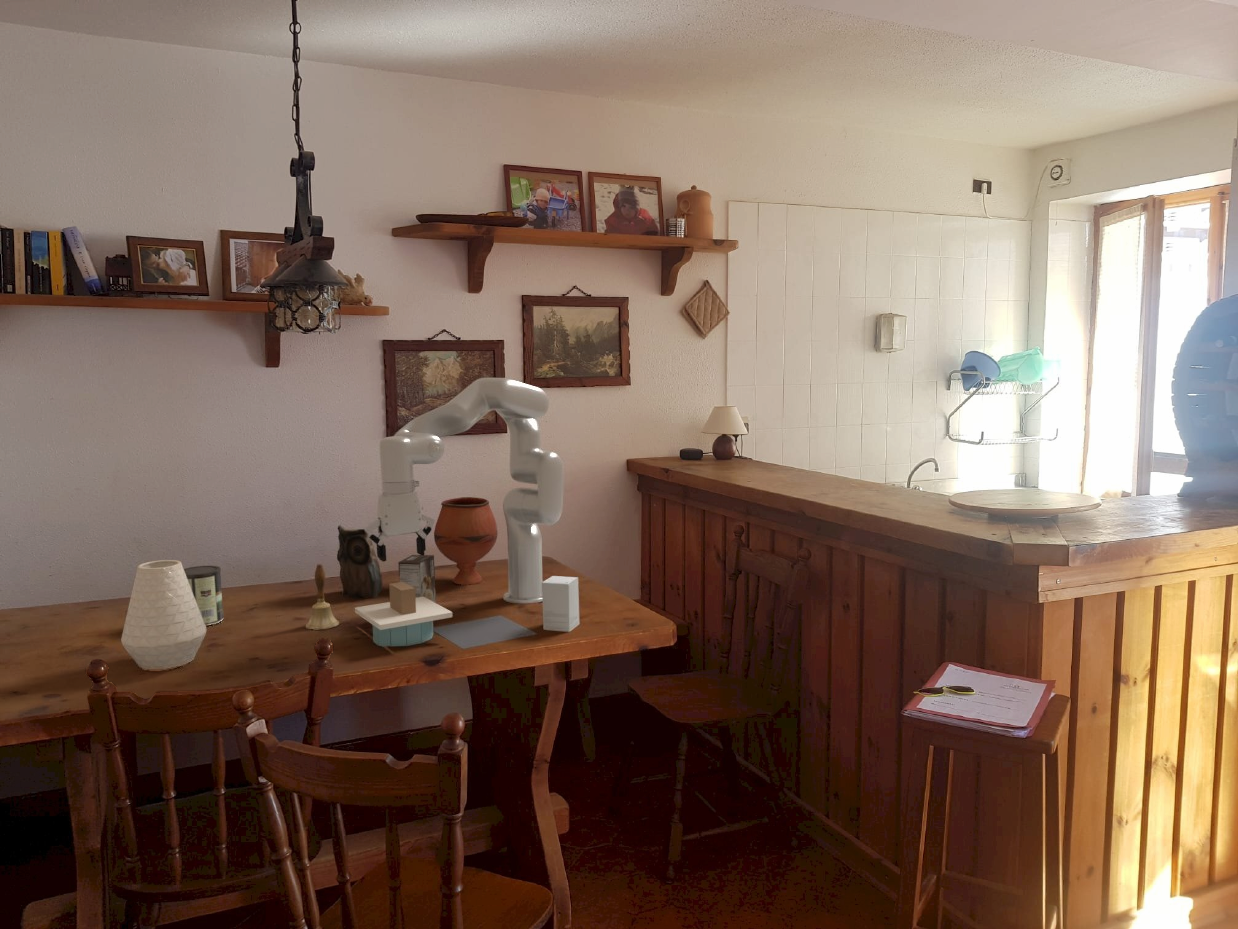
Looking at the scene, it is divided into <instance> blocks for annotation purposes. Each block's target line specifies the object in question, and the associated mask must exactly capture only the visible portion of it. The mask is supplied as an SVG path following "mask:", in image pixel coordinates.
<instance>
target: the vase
mask: <svg viewBox="0 0 1238 929" xmlns="http://www.w3.org/2000/svg"><path fill="white" fill-rule="evenodd" d="M184 569H185V568H184V567H183V564H182V561H180V560H176V559H162V560H153V561H148V562H147V561H146V562H144V563H141V564H139V565H137V569H136V574H135V578H134V583H133V587H132V590H131V595H130V600H129V603H128V608H127V612H126V618H125V621H124V626H123V631H122V634H121V639H120V641H121V644H122V646H123V647H124V649H125V650H126V651H127V653H128V654H129V655H130V656H131V658H132V659H133V660H134V662H135V664H136V665H137V666H138V667H139V668H140V667H142V668H145V669H167V668H171V667H176V666H181V665H183V664H186V663H188V662H191V661H192V660H193V661H194V659H195V656H196V655H197V653H198V650H199V648H200V647H201V644H202V643H203V641H204V638H205V637H206V635H207V631H208V629H207V627H206V626H205V623H204V621H203V618H202V616H201V613H200V610H199V608H198V605H197V603H196V600H195V597H194V595H193V592H192V590H191V587H190V584H189V582H188V579H187V577H186V574H185V571H184ZM193 661H192V662H193ZM192 662H191V663H192Z"/></svg>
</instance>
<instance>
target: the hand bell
mask: <svg viewBox="0 0 1238 929" xmlns="http://www.w3.org/2000/svg"><path fill="white" fill-rule="evenodd" d="M314 582H315V585H316V590H317V596H316V597H317V599H316V600H317V602H316V603H315V604H313V605H312V607H311V616H310V617H309V620H308V622H306V624H305V628H306V629H307V628H308V629H307V630H311V629H313V630H312V631H320V630H321V631H322V630H330V629H332V628H336V627H337V626H339V624H340V622H339V620H337V619H336V618H335V615H333V611H332V608H331V604H330V603H329V602H326V601H325V590H324V589H325V583H326V572H325V570H324V567H323V564H321V563H320V564H319V563H318V564H316V569H315V571H314Z"/></svg>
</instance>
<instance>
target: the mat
mask: <svg viewBox="0 0 1238 929" xmlns="http://www.w3.org/2000/svg"><path fill="white" fill-rule="evenodd" d="M433 633H436V634H438V635H439V636H440V637H443V638H445V639H446V640H447V641H449V642H450V643H452V644H454V645H455V646H457V647H459V648H460V649H462V650H465V649H470V648H474V647H475V648H476V647H479V646H480V647H481V646H485V645H489V644H495V643H500V642H505V641H511V640H515V639H520V638H524V637H530V636H536V635H538V633H536V632H535V631H533V630H530V629H529V628H527V627H524V626H522V625H521V624H519V623H517V622H515V621H513V620H511V619H509V618H506V617H505V616H503V615H495V616H489V617H484V618H478V619H473V620H468V621H467V620H466V621H463V622H455V623H451V624H445V625H441V626H435V627H434V626H433Z"/></svg>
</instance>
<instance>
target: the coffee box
mask: <svg viewBox="0 0 1238 929" xmlns="http://www.w3.org/2000/svg"><path fill="white" fill-rule="evenodd" d="M397 563H398V564H397V565H398V582H404V583H406V584H408V585H410V586H412V587H414V588H415V598H417V597H423V596H424V597H425V598H427V599H429V600H431V601H433V602H435V603H436V604H437V599H436V596H437V595H436V578H435V576H436V573H435V570H436V569H435V555H434V554H424V555H420V554H412V555H410V556H408V557H406V558H403V559H402V560H400V561H398V562H397Z"/></svg>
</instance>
